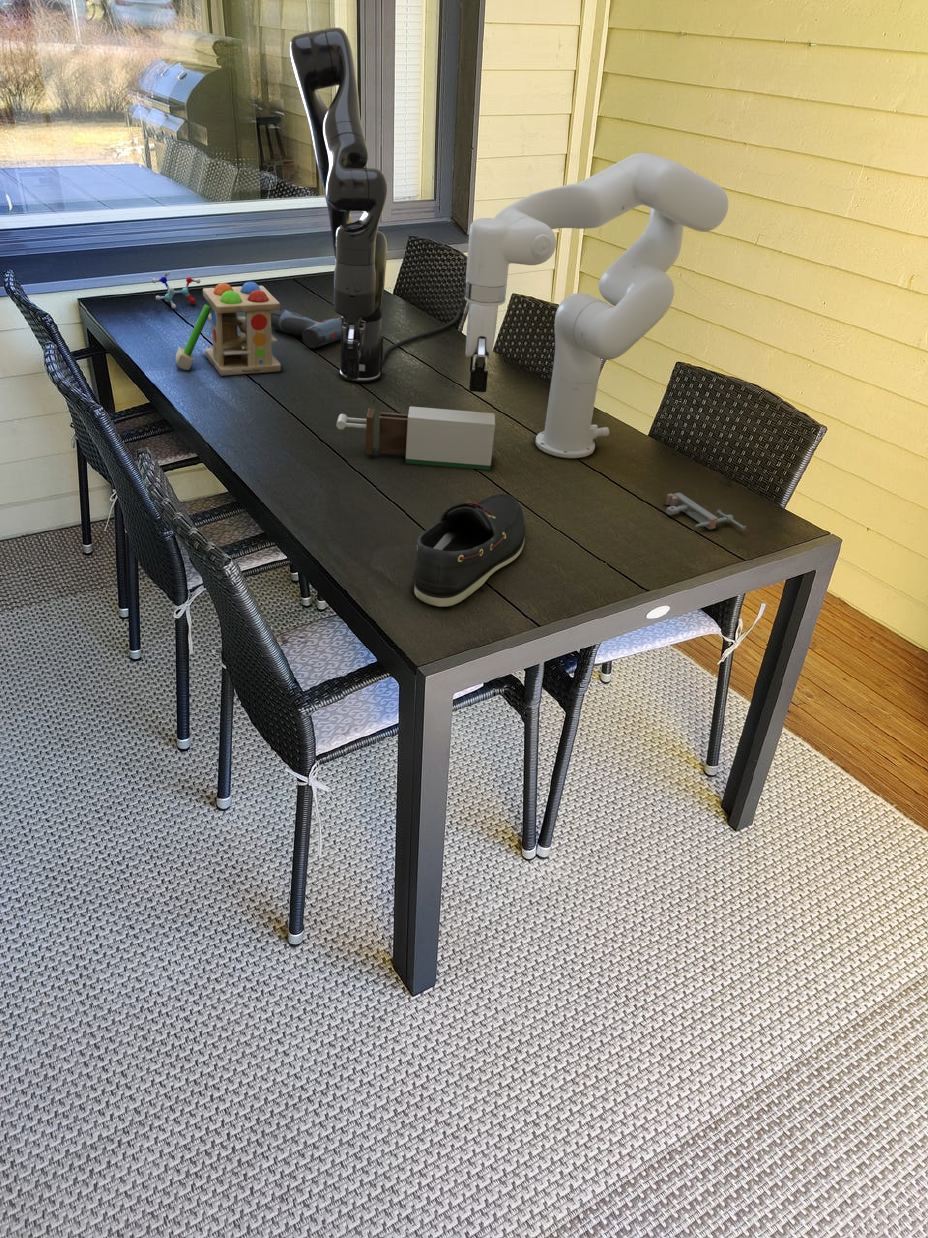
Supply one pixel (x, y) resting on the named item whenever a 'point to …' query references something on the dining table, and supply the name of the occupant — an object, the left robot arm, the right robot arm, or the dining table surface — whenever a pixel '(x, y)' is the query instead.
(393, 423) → the drawer
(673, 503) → the clamp
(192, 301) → the molecular model
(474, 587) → the boat shoe
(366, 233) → the left robot arm
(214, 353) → the pounding bench toy
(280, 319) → the power drill
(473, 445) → the cabinet
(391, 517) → the dining table surface
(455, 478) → the dining table surface
